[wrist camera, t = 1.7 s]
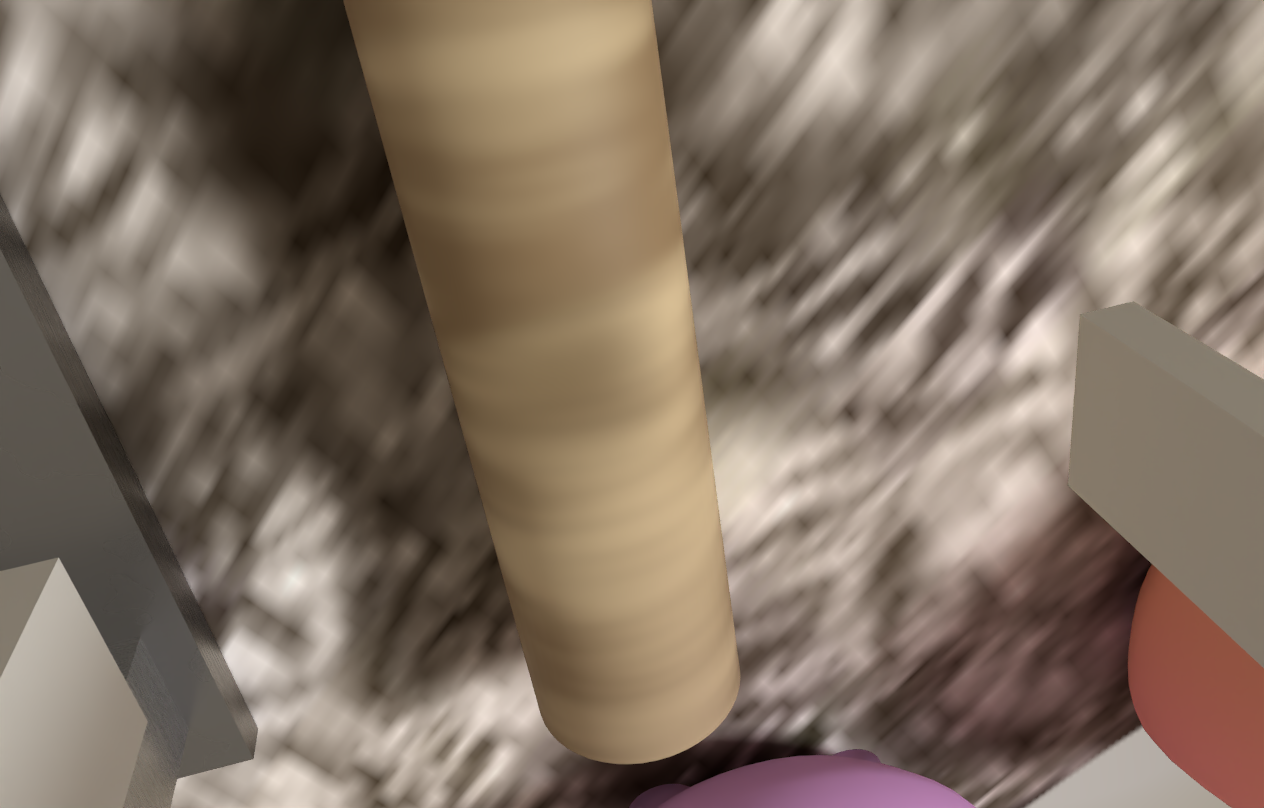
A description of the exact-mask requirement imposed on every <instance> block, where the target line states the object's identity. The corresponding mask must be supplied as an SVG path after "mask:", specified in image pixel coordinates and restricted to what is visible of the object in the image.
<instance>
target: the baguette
mask: <svg viewBox="0 0 1264 808" xmlns="http://www.w3.org/2000/svg"><path fill="white" fill-rule="evenodd" d="M343 2H344V6H345V9H346V13H347V16H348V20H349V24H350V27H351V31H352V34H353V38H354V42H355V45H356V49H357V52H358V56H359V60H360V63H361V67H362V71H363V74H364V78H365V81H366V85H367V89H368V92H369V96H370V99H371V103H372V107H373V110H374V114H375V117H376V121H377V125H378V128H379V132H380V136H381V139H382V143H383V146H384V150H385V154H386V157H387V161H388V164H389V168H390V172H391V175H392V179H393V182H394V186H395V190H396V193H397V197H398V200H399V204H400V208H401V211H402V215H403V219H404V222H405V226H406V229H407V233H408V237H409V240H410V244H411V247H412V251H413V255H414V258H415V262H416V265H417V269H418V273H419V276H420V280H421V284H422V287H423V291H424V294H425V298H426V302H427V305H428V309H429V312H430V316H431V320H432V323H433V327H434V330H435V334H436V338H437V341H438V345H439V349H440V352H441V356H442V359H443V363H444V367H445V370H446V374H447V377H448V381H449V385H450V388H451V392H452V395H453V399H454V403H455V406H456V410H457V413H458V417H459V421H460V424H461V428H462V432H463V435H464V439H465V442H466V446H467V450H468V453H469V457H470V460H471V464H472V468H473V471H474V475H475V478H476V482H477V486H478V489H479V493H480V497H481V500H482V504H483V507H484V511H485V515H486V518H487V522H488V525H489V529H490V533H491V536H492V540H493V543H494V547H495V551H496V554H497V558H498V562H499V565H500V569H501V572H502V576H503V580H504V583H505V587H506V590H507V594H508V598H509V601H510V605H511V608H512V612H513V616H514V619H515V623H516V626H517V630H518V634H519V637H520V641H521V645H522V648H523V652H524V655H525V659H526V663H527V666H528V670H529V673H530V677H531V681H532V684H533V688H534V691H535V695H536V699H537V702H538V706H539V710H540V713H541V716H542V718H543V721H544V723H545V725H546V727H547V728H548V730H549V731H550V733H551V734H552V735H553V736H554V737H555V738H556V739H557V740H558V741H559V742H560V743H561V744H563V745H564V746H565V747H566V748H568V749H570V750H571V751H573V752H575V753H577V754H579V755H581V756H584V757H586V758H589V759H592V760H596V761H600V762H606V763H613V764H638V763H646V762H652V761H657V760H661V759H664V758H667V757H671V756H673V755H676V754H678V753H680V752H683V751H685V750H687V749H689V748H691V747H692V746H694V745H696V744H698V743H699V742H700V741H702V740H703V739H705V738H706V737H707V736H709V735H710V734H711V733H712V732H713V731H714V730H715V729H716V728H717V727H718V726H719V725H720V724H721V723H722V722H723V720H724V719H725V718H726V717H727V715H728V713H729V712H730V710H731V709H732V707H733V705H734V702H735V700H736V698H737V694H738V690H739V685H740V669H739V661H738V653H737V645H736V638H735V630H734V623H733V615H732V608H731V600H730V592H729V585H728V577H727V570H726V562H725V554H724V547H723V539H722V532H721V524H720V517H719V509H718V501H717V494H716V486H715V479H714V471H713V464H712V456H711V448H710V441H709V433H708V426H707V418H706V411H705V403H704V395H703V388H702V380H701V373H700V365H699V358H698V350H697V342H696V335H695V327H694V320H693V312H692V305H691V297H690V289H689V282H688V274H687V267H686V259H685V251H684V244H683V236H682V229H681V221H680V214H679V206H678V198H677V191H676V183H675V176H674V168H673V161H672V153H671V145H670V138H669V130H668V123H667V115H666V108H665V100H664V92H663V85H662V77H661V70H660V62H659V55H658V47H657V39H656V32H655V24H654V17H653V9H652V1H651V0H343Z"/></svg>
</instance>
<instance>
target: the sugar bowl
mask: <svg viewBox="0 0 1264 808" xmlns="http://www.w3.org/2000/svg"><path fill="white" fill-rule="evenodd" d="M1128 681H1129V688H1130V692H1131V697H1132V701H1133V704H1134V707H1135V710H1136V713H1137V715H1138V717H1139V720H1140V722H1141V724H1142V726H1143V728H1144V730H1145V731H1146V732H1147V733H1148V735H1149V736H1150V737H1151V738H1152V740H1153V741H1154V742H1155V743H1156V744H1157V745H1158V746H1159V748H1160V749H1161V750H1162V751H1163V752H1164V753H1165V754H1166V755H1167V756H1168V758H1169V759H1170V760H1171V761H1172V762H1174V763H1175V764H1176V765H1177V766H1178V767H1180V768H1181V769H1182V770H1183V771H1185V772H1186V773H1187V774H1188V775H1189V776H1190V777H1191V778H1193V779H1194V780H1196V781H1197V782H1198V783H1199V784H1200V785H1201V786H1203V787H1204V788H1205V789H1206V790H1208V791H1209V792H1211V793H1212V794H1213V795H1215V796H1216V797H1218V798H1219V799H1221V800H1222V801H1223V802H1225V803H1226V804H1227V805H1229V806H1230V807H1232V808H1264V668H1263V667H1262V666H1261V665H1260V664H1259V663H1258V662H1256V661H1255V660H1254V659H1253V658H1252V657H1251V656H1250V655H1249V654H1248V653H1247V652H1246V651H1245V650H1244V649H1243V648H1241V647H1240V646H1239V645H1238V644H1237V643H1236V642H1235V641H1234V640H1233V639H1232V638H1231V637H1230V636H1229V635H1228V634H1226V633H1225V632H1224V631H1223V630H1222V629H1221V628H1220V627H1219V626H1218V625H1217V624H1216V623H1215V622H1214V621H1213V620H1211V619H1210V618H1209V617H1208V616H1207V615H1206V614H1205V613H1204V612H1203V611H1202V610H1201V609H1200V608H1199V607H1198V606H1196V605H1195V604H1194V603H1193V602H1192V601H1191V600H1190V599H1189V598H1188V597H1187V596H1186V595H1185V594H1184V593H1183V592H1181V591H1180V590H1179V589H1178V588H1177V587H1176V586H1175V585H1174V584H1173V583H1172V582H1171V581H1170V580H1169V579H1168V578H1166V577H1165V576H1164V575H1163V574H1162V573H1161V572H1160V571H1159V570H1158V569H1157V568H1156V567H1155V566H1154V565H1153V564H1152V565H1151V566H1150V568H1149V570H1148V572H1147V574H1146V577H1145V579H1144V581H1143V584H1142V586H1141V588H1140V592H1139V595H1138V599H1137V602H1136V606H1135V611H1134V616H1133V620H1132V627H1131V635H1130V643H1129V651H1128Z"/></svg>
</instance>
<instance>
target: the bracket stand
mask: <svg viewBox="0 0 1264 808" xmlns="http://www.w3.org/2000/svg"><path fill="white" fill-rule="evenodd" d="M58 557H59V559H60V561H61V563H62V564H63V566H64V568H65V570H66V572H67V574H68V575H69V577H70V579H71V581H72V583H73V585H74V586H75V588H76V590H77V592H78V594H79V596H80V597H81V599H82V601H83V603H84V605H85V607H86V608H87V610H88V612H89V614H90V616H91V618H92V620H93V621H94V623H95V625H96V627H97V629H98V631H99V632H100V634H101V636H102V638H103V640H104V642H105V643H106V645H107V647H108V649H109V651H110V653H111V654H112V656H113V658H114V660H115V662H116V664H117V665H118V667H119V669H120V671H121V673H122V675H123V676H124V678H125V680H126V682H127V684H128V686H129V687H130V689H131V691H132V693H133V695H134V697H135V699H136V700H137V702H138V704H139V706H140V708H141V710H142V711H143V713H144V715H145V717H146V719H147V721H148V722H147V726H146V729H145V733H144V736H143V740H142V743H141V746H140V750H139V753H138V757H137V760H136V764H135V767H134V771H133V774H132V778H131V781H130V785H129V788H128V792H127V795H126V799H125V802H124V805H123V808H170V807H171V802H172V798H173V794H174V790H175V785H176V781H177V779H178V778H182V777H185V776H189V775H193V774H197V773H201V772H205V771H209V770H212V769H216V768H220V767H224V766H228V765H232V764H236V763H239V762H243V761H247V760H251V759H253V758H254V752H255V745H256V739H257V732H258V728H257V726H256V724H255V722H254V720H253V717H252V715H251V713H250V711H249V709H248V707H247V705H246V703H245V701H244V699H243V697H242V695H241V693H240V691H239V688H238V686H237V684H236V682H235V680H234V678H233V676H232V674H231V672H230V670H229V668H228V666H227V664H226V662H225V659H224V657H223V655H222V653H221V651H220V649H219V647H218V645H217V643H216V641H215V639H214V637H213V635H212V632H211V630H210V628H209V626H208V624H207V622H206V620H205V618H204V616H203V614H202V612H201V610H200V608H199V606H198V603H197V601H196V599H195V597H194V595H193V593H192V591H191V589H190V587H189V585H188V583H187V581H186V579H185V577H184V574H183V572H182V570H181V568H180V566H179V564H178V562H177V560H176V558H175V556H174V554H173V552H172V550H171V547H170V545H169V543H168V541H167V539H166V537H165V535H164V533H163V531H162V529H161V527H160V525H159V523H158V521H157V518H156V516H155V514H154V512H153V510H152V508H151V506H150V504H149V502H148V500H147V498H146V496H145V494H144V492H143V489H142V487H141V485H140V483H139V481H138V479H137V477H136V475H135V473H134V471H133V469H132V467H131V465H130V462H129V460H128V458H127V456H126V454H125V452H124V450H123V448H122V446H121V444H120V442H119V440H118V438H117V436H116V433H115V431H114V429H113V427H112V425H111V423H110V421H109V419H108V417H107V415H106V413H105V411H104V409H103V407H102V404H101V402H100V400H99V398H98V396H97V394H96V392H95V390H94V388H93V386H92V384H91V382H90V380H89V377H88V375H87V373H86V371H85V369H84V367H83V365H82V363H81V361H80V359H79V357H78V355H77V353H76V351H75V348H74V346H73V344H72V342H71V340H70V338H69V336H68V334H67V332H66V330H65V328H64V326H63V324H62V322H61V319H60V317H59V315H58V313H57V311H56V309H55V307H54V305H53V303H52V301H51V299H50V297H49V295H48V292H47V290H46V288H45V286H44V284H43V282H42V280H41V278H40V276H39V274H38V272H37V270H36V268H35V266H34V263H33V261H32V259H31V257H30V255H29V253H28V251H27V249H26V247H25V245H24V243H23V241H22V239H21V237H20V234H19V232H18V230H17V228H16V226H15V224H14V222H13V220H12V218H11V216H10V214H9V212H8V210H7V207H6V205H5V203H4V201H3V199H2V197H1V195H0V571H3V570H8V569H12V568H16V567H20V566H24V565H29V564H33V563H37V562H41V561H45V560H50V559H54V558H58Z"/></svg>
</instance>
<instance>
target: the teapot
mask: <svg viewBox="0 0 1264 808" xmlns="http://www.w3.org/2000/svg"><path fill="white" fill-rule="evenodd" d="M629 808H976V807H974V806H973V805H972V804H971V803H969V802H968V801H967V800H965V799H964V798H963V797H961V796H960V795H959V794H958V793H956V792H955V791H954V790H952V789H950V788H948V787H946V786H944V785H942V784H940V783H938V782H936V781H934V780H932V779H929V778H926V777H923V776H920V775H918V774H915V773H912V772H908V771H905V770H902V769H899V768H896V767H893V766H889V765H886V764H882V763H880V760H879V759H878V757H877V756H876V755H875V754H873V753H871V752H869V751H866V750H861V749H853V750H846V751H842V752H839V753H837V754H834V755H808V756H794V757H786V758H779V759H772V760H768V761H763V762H759V763H755V764H750V765H746V766H743V767H740V768H737V769H734V770H731V771H728V772H725V773H722V774H719V775H716V776H714V777H712V778H709V779H707V780H705V781H702V782H700V783H698V784H695V785H693V786H692V787H689V786H686V785H682V784H664V785H660V786H656V787H654V788H651V789H649V790H647V791H645V792H643V793H642V794H640V795H639V796H638V797H637V798H636V799H635V800H634V801H633V802H632V803H631V805H630V806H629Z"/></svg>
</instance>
